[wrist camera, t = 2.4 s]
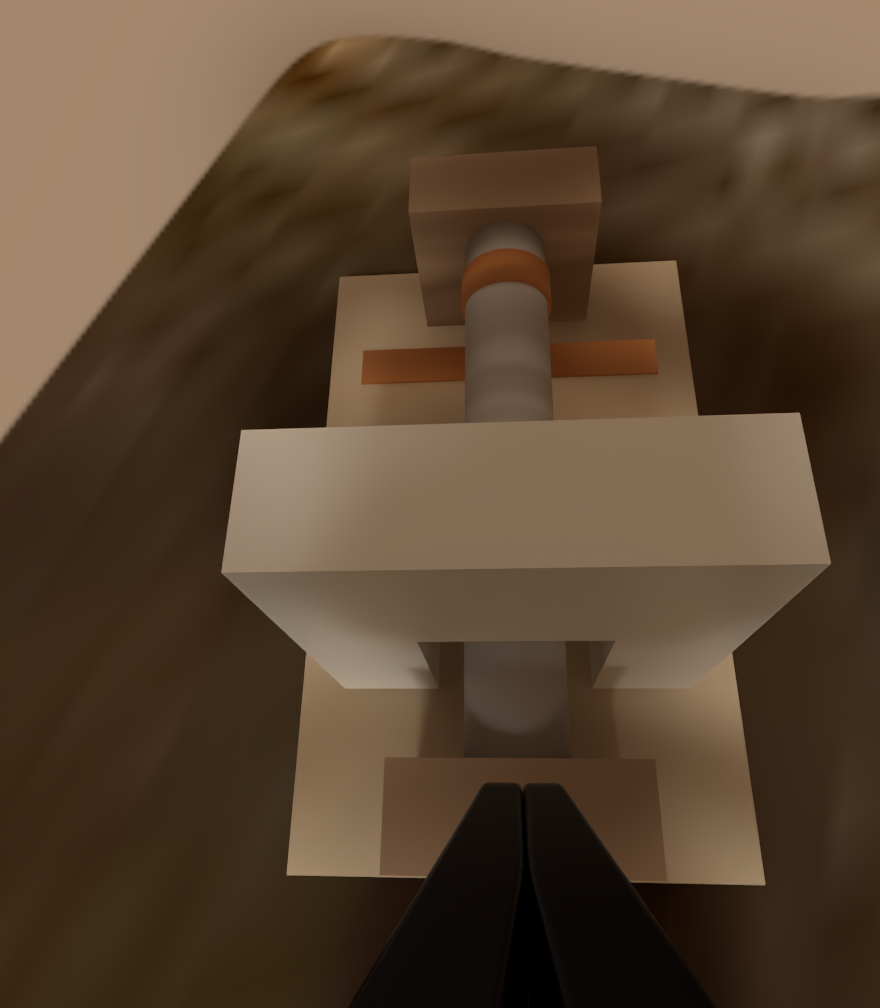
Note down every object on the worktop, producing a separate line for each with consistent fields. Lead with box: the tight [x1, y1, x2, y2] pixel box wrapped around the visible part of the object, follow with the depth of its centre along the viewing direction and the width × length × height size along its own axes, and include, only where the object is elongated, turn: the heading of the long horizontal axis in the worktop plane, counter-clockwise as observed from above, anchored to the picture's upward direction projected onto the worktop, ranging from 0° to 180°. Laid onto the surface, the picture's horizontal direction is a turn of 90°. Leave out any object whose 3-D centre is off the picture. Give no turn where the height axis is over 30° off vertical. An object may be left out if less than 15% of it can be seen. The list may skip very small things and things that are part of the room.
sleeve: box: [221, 413, 831, 689], centre depth 16 cm, size 3×9×9 cm, turn 89°
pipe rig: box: [287, 146, 765, 885], centre depth 20 cm, size 18×11×6 cm, turn 179°
